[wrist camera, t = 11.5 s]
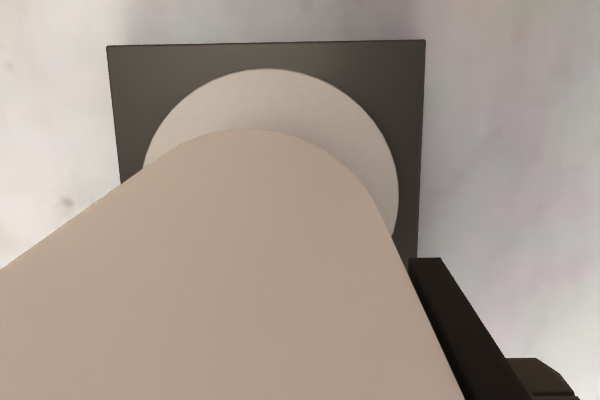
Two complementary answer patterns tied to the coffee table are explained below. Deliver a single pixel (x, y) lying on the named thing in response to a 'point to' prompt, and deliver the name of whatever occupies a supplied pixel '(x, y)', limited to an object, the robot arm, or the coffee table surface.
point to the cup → (221, 287)
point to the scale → (284, 107)
